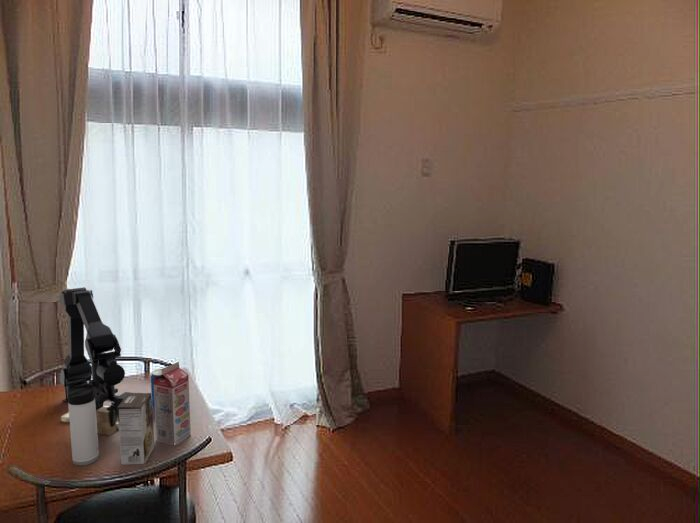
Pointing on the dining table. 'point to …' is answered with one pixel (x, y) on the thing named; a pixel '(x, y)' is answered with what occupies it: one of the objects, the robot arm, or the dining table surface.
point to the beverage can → (154, 374)
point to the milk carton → (172, 405)
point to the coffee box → (136, 428)
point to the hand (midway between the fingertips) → (106, 425)
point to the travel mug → (83, 424)
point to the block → (104, 422)
